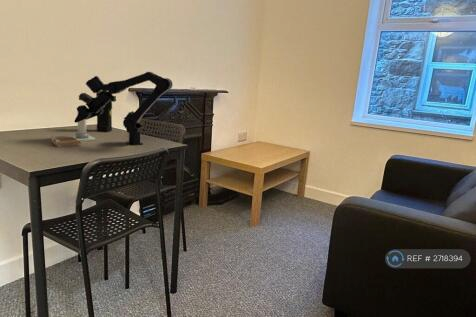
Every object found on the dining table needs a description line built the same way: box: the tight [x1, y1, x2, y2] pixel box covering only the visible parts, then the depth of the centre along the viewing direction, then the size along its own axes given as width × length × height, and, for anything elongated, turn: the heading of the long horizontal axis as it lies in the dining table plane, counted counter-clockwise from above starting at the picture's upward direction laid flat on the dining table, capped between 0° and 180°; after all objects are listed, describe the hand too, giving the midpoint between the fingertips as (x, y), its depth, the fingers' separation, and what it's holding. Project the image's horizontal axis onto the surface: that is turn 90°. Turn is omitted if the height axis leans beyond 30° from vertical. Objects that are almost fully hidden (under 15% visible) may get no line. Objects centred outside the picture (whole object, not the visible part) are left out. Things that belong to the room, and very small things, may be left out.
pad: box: [68, 134, 97, 142], centre depth 176 cm, size 10×10×1 cm
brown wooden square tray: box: [51, 135, 82, 148], centre depth 162 cm, size 10×10×2 cm
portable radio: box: [95, 91, 113, 133], centre depth 198 cm, size 8×6×25 cm
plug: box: [75, 111, 90, 139], centre depth 174 cm, size 6×6×14 cm
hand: (79, 120), depth 174 cm, fingers open, 9 cm apart
